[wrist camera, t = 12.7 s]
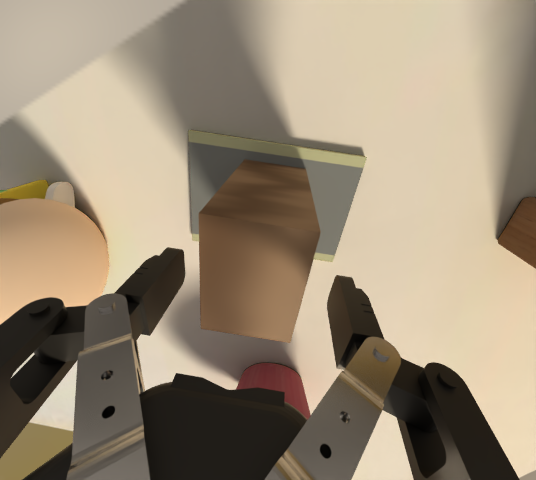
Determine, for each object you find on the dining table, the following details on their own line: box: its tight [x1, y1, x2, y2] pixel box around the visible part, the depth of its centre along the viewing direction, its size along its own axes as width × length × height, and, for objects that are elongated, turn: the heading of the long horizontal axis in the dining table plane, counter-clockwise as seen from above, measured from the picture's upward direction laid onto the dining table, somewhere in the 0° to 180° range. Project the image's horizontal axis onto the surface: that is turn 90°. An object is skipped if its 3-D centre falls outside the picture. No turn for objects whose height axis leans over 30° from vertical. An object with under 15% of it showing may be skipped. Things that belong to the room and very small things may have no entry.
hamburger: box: [0, 180, 109, 325], centre depth 20 cm, size 12×8×12 cm
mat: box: [188, 130, 367, 262], centre depth 21 cm, size 14×10×1 cm
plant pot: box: [236, 363, 311, 420], centre depth 30 cm, size 14×14×13 cm
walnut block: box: [199, 159, 321, 343], centre depth 16 cm, size 5×7×11 cm
